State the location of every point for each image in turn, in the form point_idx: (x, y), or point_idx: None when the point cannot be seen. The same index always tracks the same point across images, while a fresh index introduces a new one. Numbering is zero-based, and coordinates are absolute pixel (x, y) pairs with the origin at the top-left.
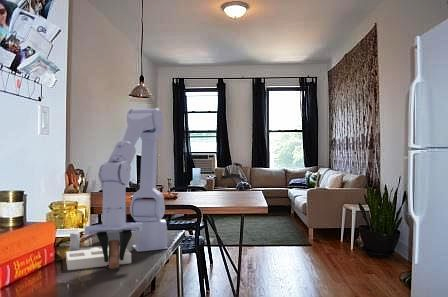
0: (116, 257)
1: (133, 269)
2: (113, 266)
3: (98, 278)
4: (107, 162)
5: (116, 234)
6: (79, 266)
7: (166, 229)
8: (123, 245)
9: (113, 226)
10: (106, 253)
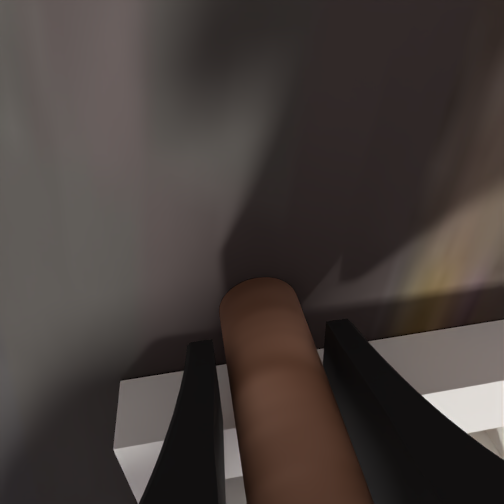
0: (259, 355)
1: (92, 232)
2: (271, 290)
3: (447, 42)
4: None
5: None
6: (481, 337)
7: None
8: (199, 476)
9: None
10: (377, 375)
